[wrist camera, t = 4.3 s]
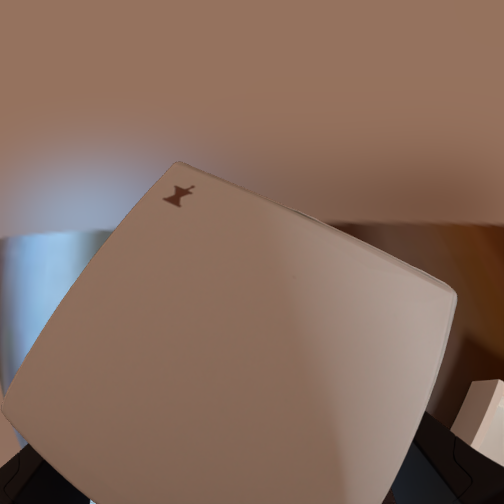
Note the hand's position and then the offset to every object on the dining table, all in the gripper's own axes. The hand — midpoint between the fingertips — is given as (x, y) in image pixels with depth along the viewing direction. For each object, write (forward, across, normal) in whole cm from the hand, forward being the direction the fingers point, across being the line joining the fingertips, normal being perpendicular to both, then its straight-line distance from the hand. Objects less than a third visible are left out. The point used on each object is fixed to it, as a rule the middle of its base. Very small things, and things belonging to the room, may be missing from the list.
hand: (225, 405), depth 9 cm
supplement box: (+5, 0, +6) cm, 8 cm away
